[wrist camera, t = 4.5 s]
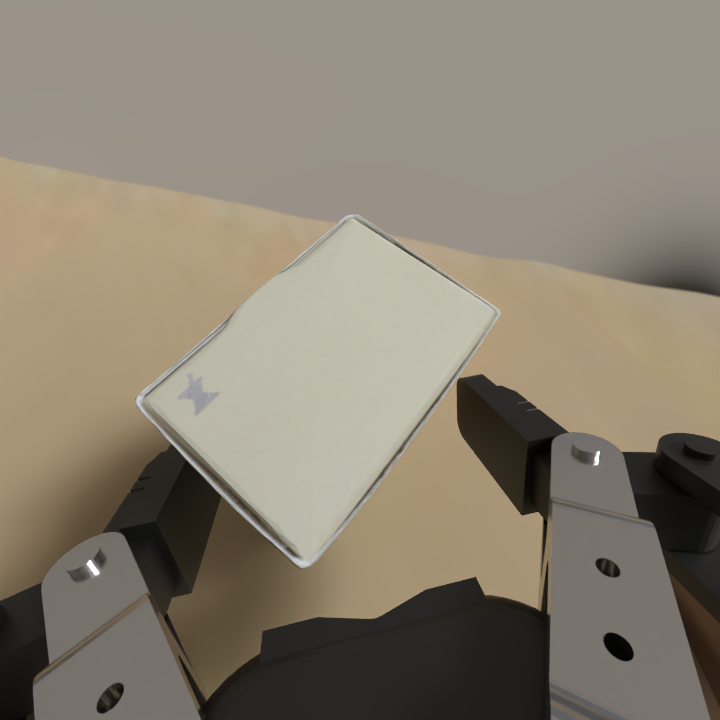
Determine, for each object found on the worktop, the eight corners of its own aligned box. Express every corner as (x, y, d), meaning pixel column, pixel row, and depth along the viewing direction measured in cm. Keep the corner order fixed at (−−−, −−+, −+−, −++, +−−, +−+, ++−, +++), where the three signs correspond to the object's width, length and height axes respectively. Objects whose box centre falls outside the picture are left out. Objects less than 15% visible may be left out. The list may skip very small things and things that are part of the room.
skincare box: (335, 530, 16) (292, 607, 5) (270, 470, 17) (107, 412, 6) (413, 427, 18) (517, 305, 7) (352, 378, 19) (350, 201, 8)
